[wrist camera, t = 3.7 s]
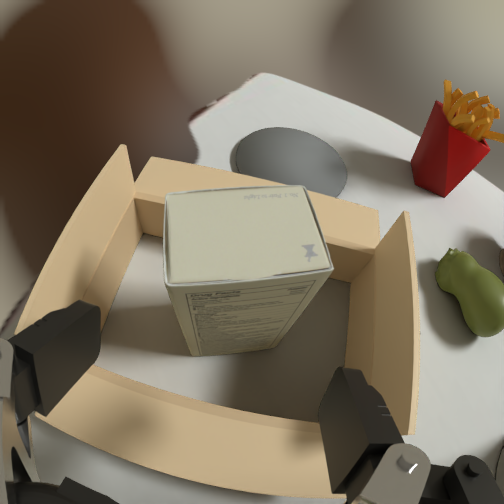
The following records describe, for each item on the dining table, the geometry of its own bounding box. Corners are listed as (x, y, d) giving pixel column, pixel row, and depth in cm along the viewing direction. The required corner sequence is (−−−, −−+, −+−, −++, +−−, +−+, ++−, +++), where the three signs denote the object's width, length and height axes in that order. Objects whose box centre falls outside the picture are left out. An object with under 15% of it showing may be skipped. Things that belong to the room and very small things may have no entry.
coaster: (320, 131, 36) (322, 127, 36) (362, 202, 30) (364, 198, 30) (226, 133, 33) (227, 128, 33) (250, 212, 27) (251, 207, 27)
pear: (509, 329, 18) (442, 247, 23) (475, 356, 22) (418, 282, 27) (527, 300, 20) (467, 229, 25) (498, 327, 24) (445, 262, 29)
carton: (357, 240, 27) (402, 172, 20) (332, 486, 16) (401, 511, 8) (156, 192, 27) (146, 112, 20) (65, 419, 16) (-11, 406, 8)
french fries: (403, 154, 37) (450, 65, 24) (450, 175, 36) (500, 97, 24) (411, 199, 32) (475, 97, 19) (462, 221, 32) (529, 136, 19)
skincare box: (266, 295, 23) (310, 181, 13) (276, 351, 21) (341, 270, 11) (183, 302, 22) (163, 186, 12) (188, 360, 20) (163, 286, 10)
